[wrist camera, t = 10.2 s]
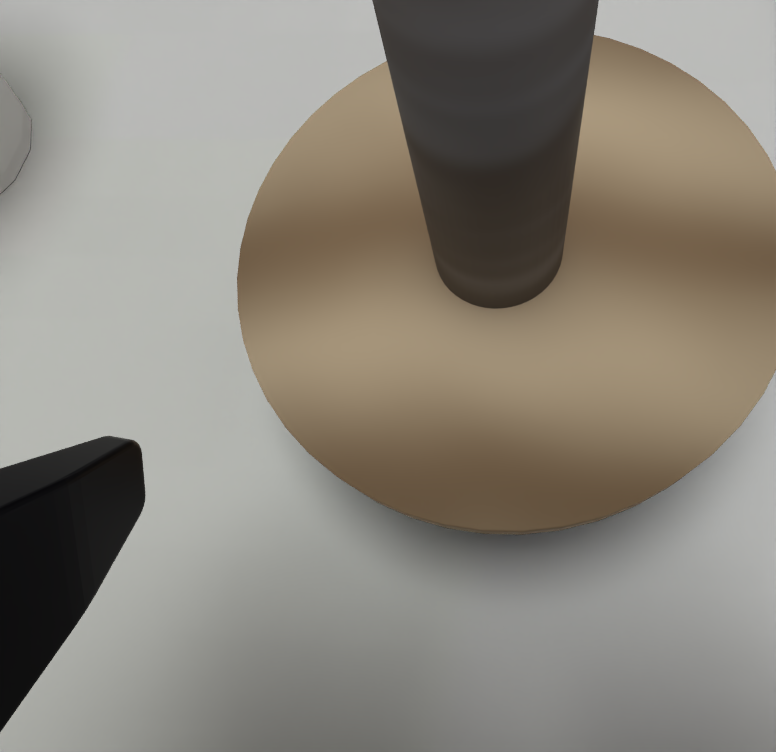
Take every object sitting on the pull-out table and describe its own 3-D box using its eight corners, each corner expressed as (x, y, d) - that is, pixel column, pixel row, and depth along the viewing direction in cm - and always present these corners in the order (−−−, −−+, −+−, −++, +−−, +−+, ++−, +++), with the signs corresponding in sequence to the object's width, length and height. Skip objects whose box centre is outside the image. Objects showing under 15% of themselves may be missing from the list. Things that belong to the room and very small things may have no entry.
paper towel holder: (836, 520, 14) (2266, 196, 3) (245, 546, 16) (-431, 427, 5) (725, 26, 18) (1096, -976, 7) (261, 97, 20) (-84, -576, 9)
